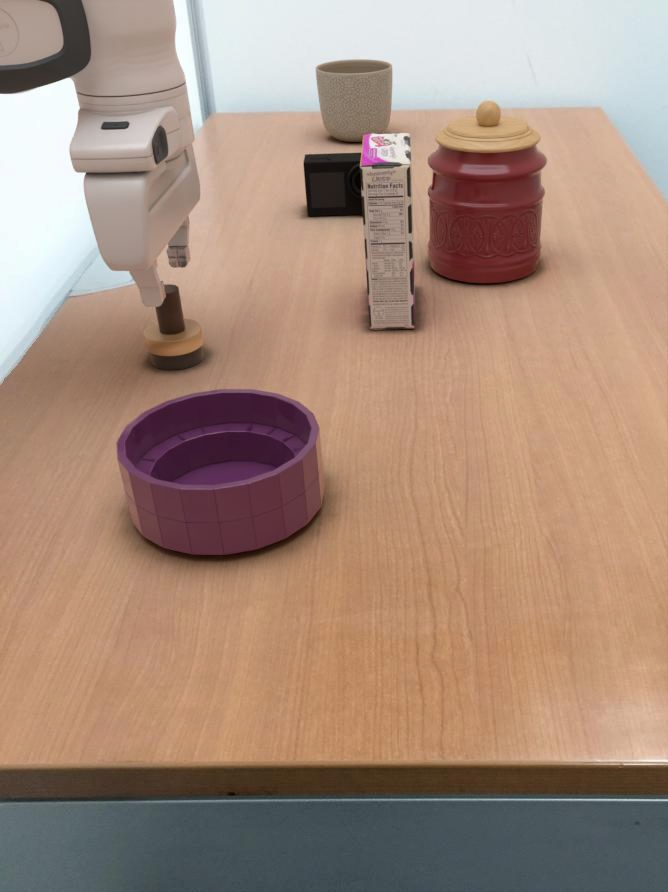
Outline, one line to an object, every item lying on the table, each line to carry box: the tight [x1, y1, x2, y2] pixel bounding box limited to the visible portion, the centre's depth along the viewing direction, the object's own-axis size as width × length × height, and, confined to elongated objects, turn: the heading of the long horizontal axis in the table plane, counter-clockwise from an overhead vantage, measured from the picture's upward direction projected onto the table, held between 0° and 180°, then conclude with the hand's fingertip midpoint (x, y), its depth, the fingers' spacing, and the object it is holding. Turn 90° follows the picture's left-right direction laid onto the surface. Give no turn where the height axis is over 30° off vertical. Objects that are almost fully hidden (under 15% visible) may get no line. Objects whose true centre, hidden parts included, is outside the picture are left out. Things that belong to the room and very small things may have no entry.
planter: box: [315, 58, 393, 143], centre depth 157 cm, size 12×12×11 cm
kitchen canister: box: [427, 100, 548, 284], centre depth 106 cm, size 13×13×18 cm
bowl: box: [115, 388, 326, 556], centre depth 70 cm, size 14×14×6 cm
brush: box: [143, 283, 204, 371], centre depth 90 cm, size 5×5×7 cm
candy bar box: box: [360, 132, 416, 331], centre depth 96 cm, size 11×5×16 cm, turn 0°
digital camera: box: [303, 152, 363, 217], centre depth 126 cm, size 10×5×7 cm, turn 92°
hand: (168, 283), depth 88 cm, fingers open, 8 cm apart
